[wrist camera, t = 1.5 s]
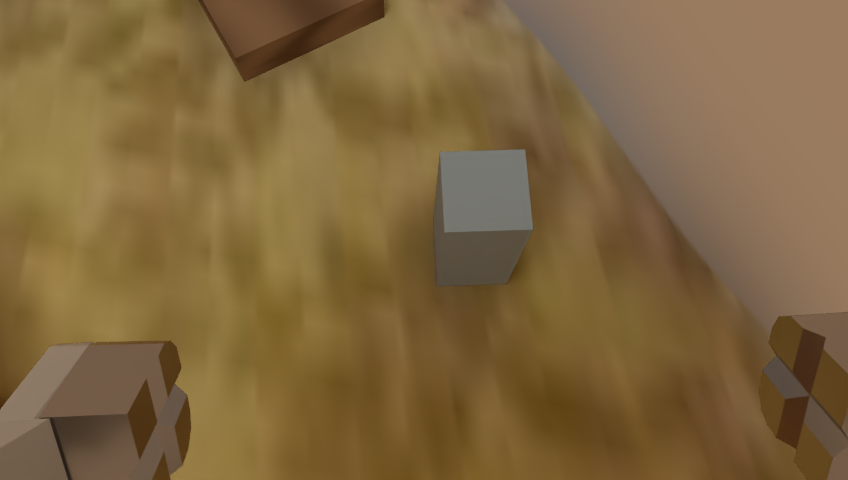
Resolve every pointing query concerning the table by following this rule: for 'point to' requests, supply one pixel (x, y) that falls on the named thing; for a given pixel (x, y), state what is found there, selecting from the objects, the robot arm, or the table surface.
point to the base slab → (284, 28)
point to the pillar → (480, 216)
